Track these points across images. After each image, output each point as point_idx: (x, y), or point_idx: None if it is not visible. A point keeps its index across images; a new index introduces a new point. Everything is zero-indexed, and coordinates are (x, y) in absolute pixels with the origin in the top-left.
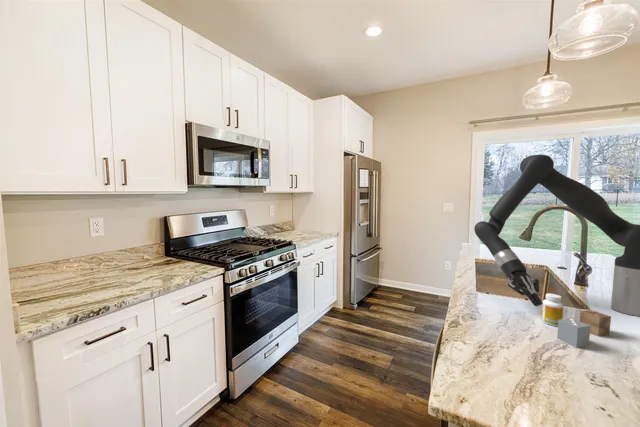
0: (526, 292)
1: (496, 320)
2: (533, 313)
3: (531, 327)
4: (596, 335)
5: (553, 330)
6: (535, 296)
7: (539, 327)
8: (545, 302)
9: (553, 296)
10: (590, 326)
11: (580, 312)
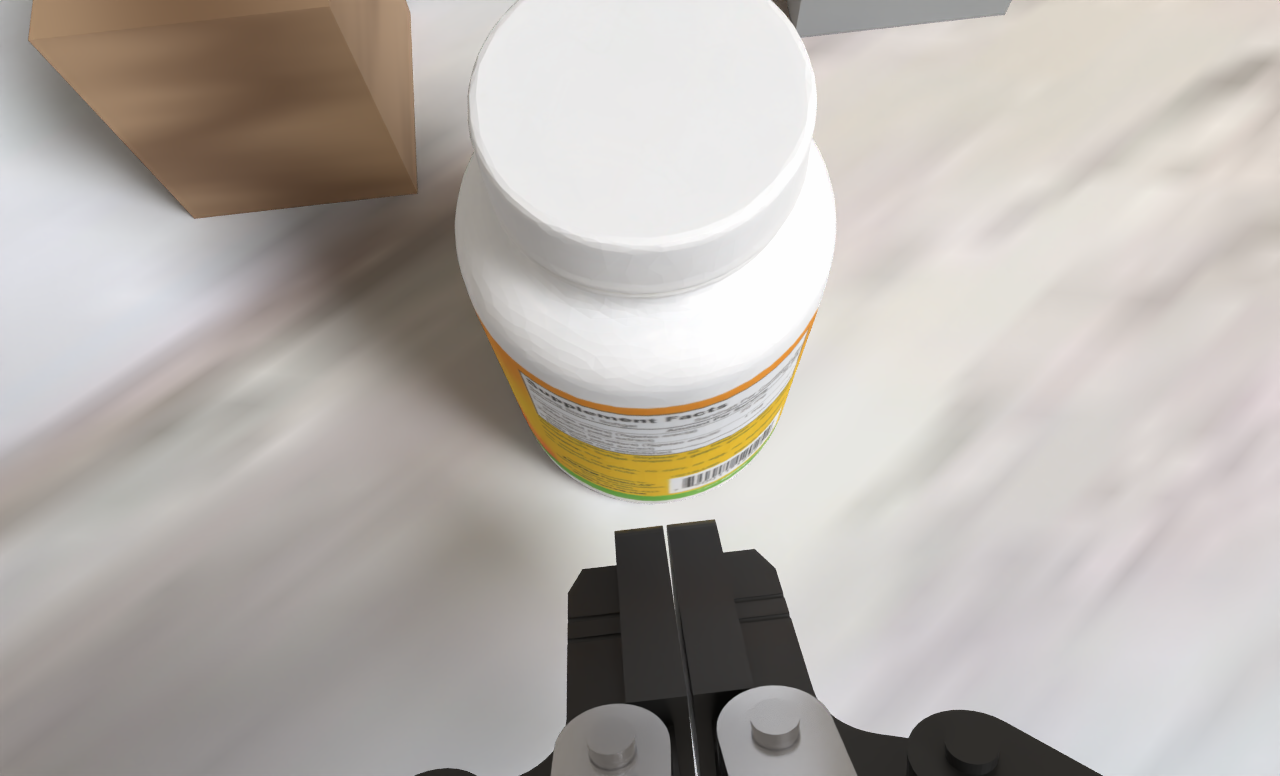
0: (994, 720)
1: None
2: None
3: (1118, 289)
4: (408, 23)
5: (852, 185)
6: (703, 642)
7: (988, 278)
8: (829, 227)
9: (724, 26)
10: (385, 21)
11: (335, 26)
